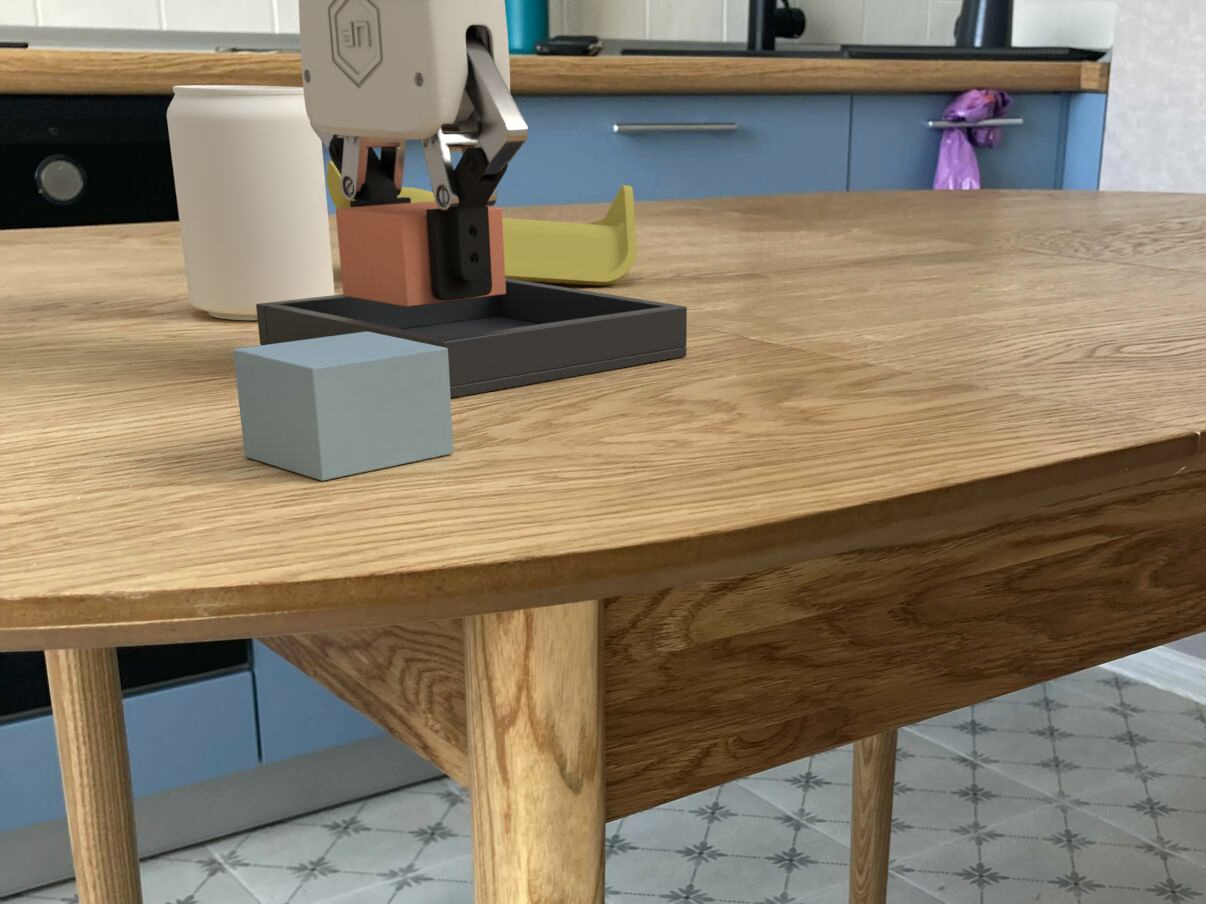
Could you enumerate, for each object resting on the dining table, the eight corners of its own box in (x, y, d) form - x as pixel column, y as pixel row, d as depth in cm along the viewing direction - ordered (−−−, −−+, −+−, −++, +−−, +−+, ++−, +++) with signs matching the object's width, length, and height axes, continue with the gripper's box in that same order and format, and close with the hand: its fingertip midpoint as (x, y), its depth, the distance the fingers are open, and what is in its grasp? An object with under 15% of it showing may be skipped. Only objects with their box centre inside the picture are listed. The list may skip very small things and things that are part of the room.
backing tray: (260, 355, 77) (255, 303, 76) (499, 322, 88) (498, 276, 87) (446, 399, 68) (443, 341, 67) (686, 356, 79) (687, 306, 78)
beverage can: (161, 317, 87) (131, 86, 82) (243, 298, 94) (219, 84, 89) (287, 326, 85) (264, 90, 80) (361, 306, 92) (344, 87, 87)
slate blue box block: (244, 457, 58) (232, 349, 56) (375, 432, 62) (367, 331, 61) (322, 481, 55) (311, 368, 53) (454, 453, 59) (448, 347, 58)
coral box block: (342, 296, 74) (334, 208, 72) (441, 284, 78) (436, 200, 76) (407, 307, 71) (400, 215, 69) (506, 294, 75) (502, 207, 73)
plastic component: (608, 228, 112) (636, 173, 102) (610, 329, 112) (638, 284, 102) (325, 207, 107) (326, 148, 97) (327, 313, 106) (328, 264, 97)
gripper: (210, -138, 70) (257, 281, 77) (451, -167, 59) (478, 319, 67) (349, -123, 75) (380, 267, 82) (593, -148, 64) (603, 301, 72)
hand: (423, 286), depth 74 cm, fingers closed on coral box block, 5 cm apart
